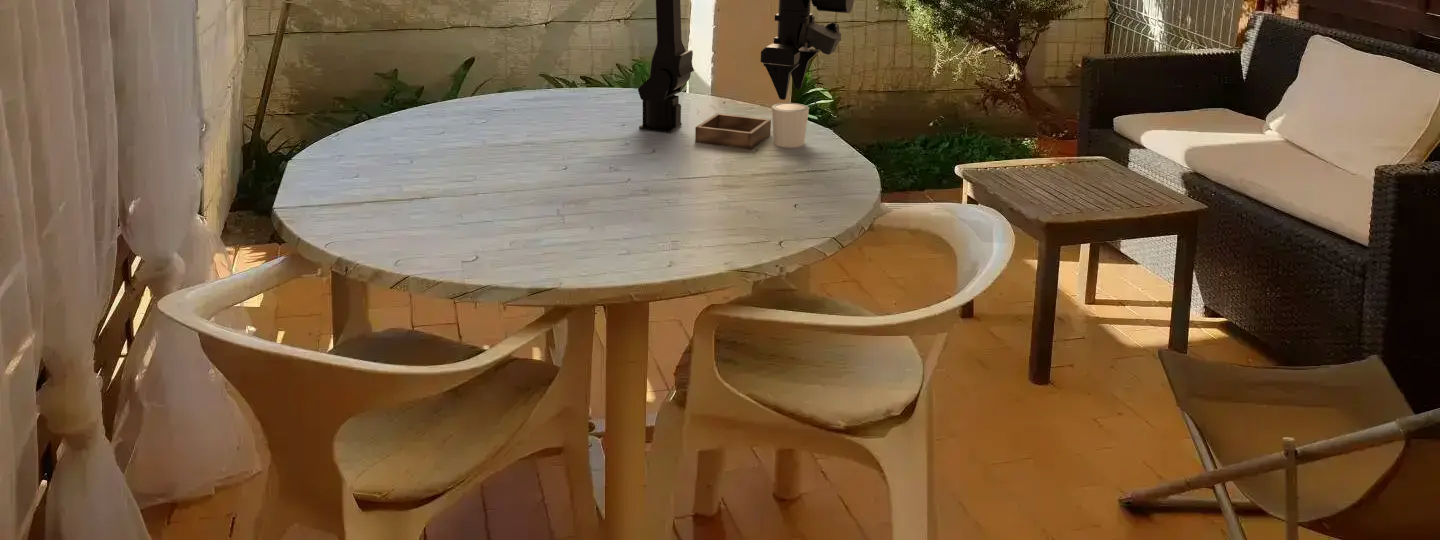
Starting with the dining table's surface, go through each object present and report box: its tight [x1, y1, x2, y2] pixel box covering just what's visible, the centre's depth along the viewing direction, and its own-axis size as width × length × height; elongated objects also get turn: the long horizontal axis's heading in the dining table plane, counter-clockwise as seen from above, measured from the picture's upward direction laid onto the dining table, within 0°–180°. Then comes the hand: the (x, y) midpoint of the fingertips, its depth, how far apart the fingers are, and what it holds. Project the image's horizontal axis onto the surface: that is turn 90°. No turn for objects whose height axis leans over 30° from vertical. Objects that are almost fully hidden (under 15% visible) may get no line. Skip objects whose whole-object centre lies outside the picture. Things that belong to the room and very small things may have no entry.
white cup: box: [771, 102, 810, 148], centre depth 234 cm, size 7×7×7 cm
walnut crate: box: [694, 113, 772, 150], centre depth 237 cm, size 11×11×3 cm
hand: (790, 94), depth 232 cm, fingers open, 9 cm apart
